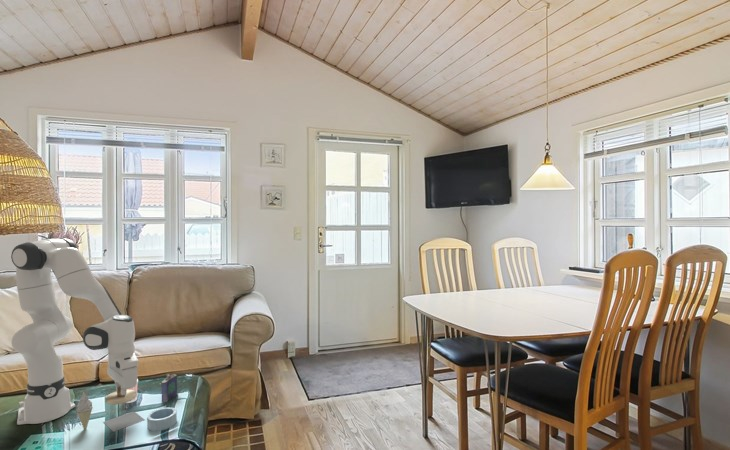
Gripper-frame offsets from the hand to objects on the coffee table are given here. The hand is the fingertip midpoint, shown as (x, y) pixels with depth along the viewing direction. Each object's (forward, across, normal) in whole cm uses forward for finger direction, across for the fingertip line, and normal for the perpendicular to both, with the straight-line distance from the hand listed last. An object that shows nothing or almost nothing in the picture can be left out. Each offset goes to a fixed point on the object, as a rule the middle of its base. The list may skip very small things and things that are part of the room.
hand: (121, 392), depth 156 cm
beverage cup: (+12, -16, +9) cm, 22 cm away
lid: (+2, 0, 0) cm, 2 cm away
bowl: (+11, +15, +9) cm, 21 cm away
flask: (+12, -6, +21) cm, 25 cm away
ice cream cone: (+12, -4, -11) cm, 17 cm away
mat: (+12, +1, +1) cm, 12 cm away
